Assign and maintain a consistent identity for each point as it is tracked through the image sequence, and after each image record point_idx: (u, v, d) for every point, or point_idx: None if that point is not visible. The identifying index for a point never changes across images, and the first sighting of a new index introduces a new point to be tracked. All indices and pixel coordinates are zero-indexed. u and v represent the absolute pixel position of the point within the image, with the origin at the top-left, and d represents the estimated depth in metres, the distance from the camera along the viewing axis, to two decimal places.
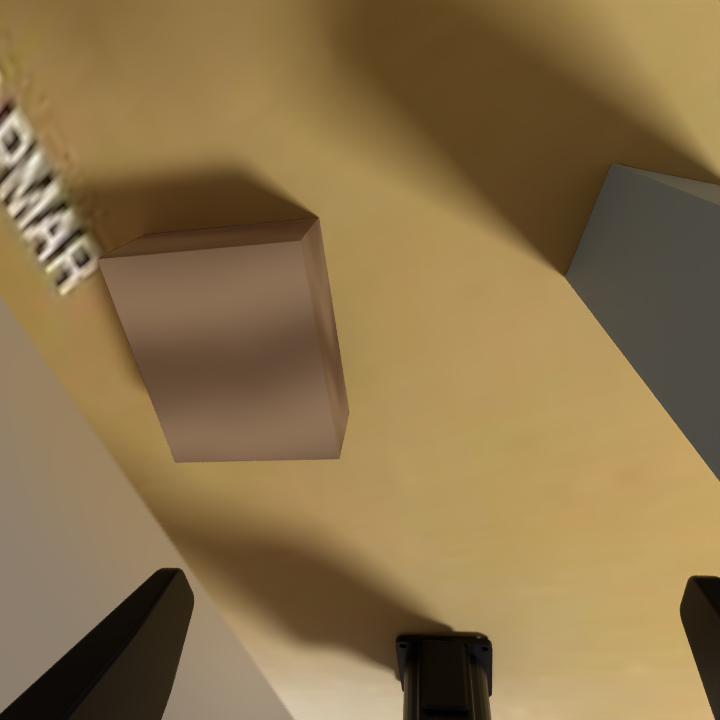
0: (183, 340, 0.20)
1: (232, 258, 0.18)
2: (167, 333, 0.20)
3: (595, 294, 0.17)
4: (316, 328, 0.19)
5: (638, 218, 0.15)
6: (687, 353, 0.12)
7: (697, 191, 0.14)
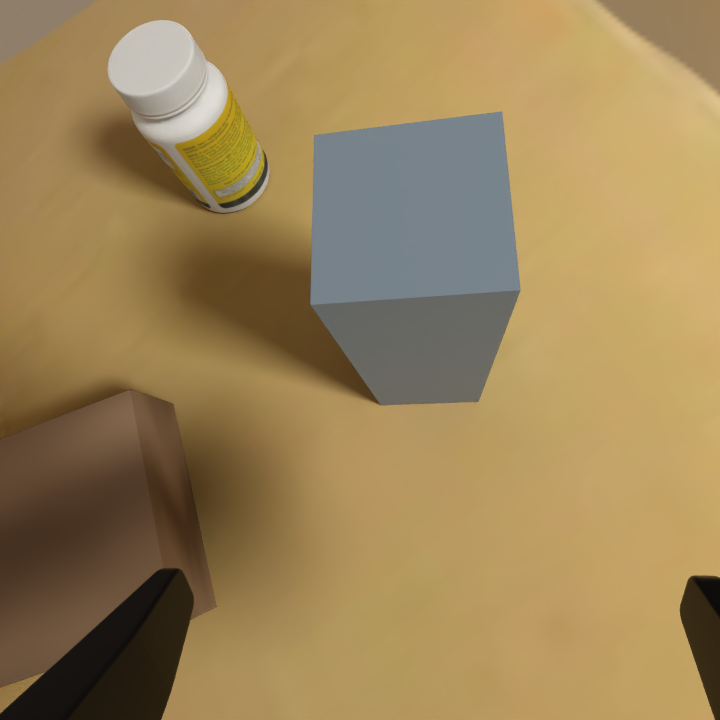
0: (27, 510, 0.21)
1: (77, 418, 0.22)
2: (14, 507, 0.21)
3: None
4: (145, 465, 0.21)
5: None
6: None
7: None
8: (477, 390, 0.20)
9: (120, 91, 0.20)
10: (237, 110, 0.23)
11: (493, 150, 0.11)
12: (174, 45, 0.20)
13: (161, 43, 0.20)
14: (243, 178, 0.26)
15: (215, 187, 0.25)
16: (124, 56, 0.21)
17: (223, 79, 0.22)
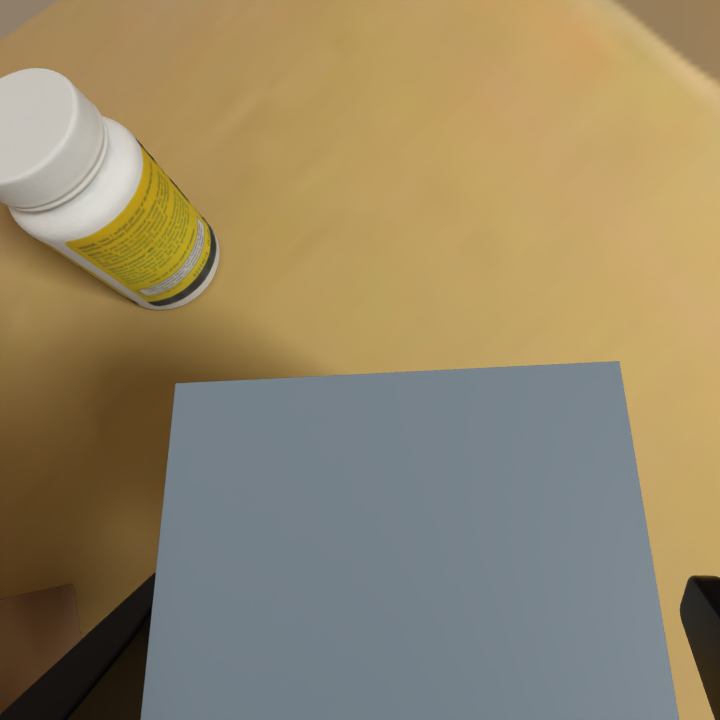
0: None
1: None
2: None
3: None
4: None
5: None
6: None
7: None
8: None
9: None
10: (161, 188, 0.17)
11: (604, 474, 0.04)
12: (50, 107, 0.14)
13: (33, 103, 0.14)
14: (177, 272, 0.19)
15: (138, 286, 0.18)
16: None
17: (136, 148, 0.16)
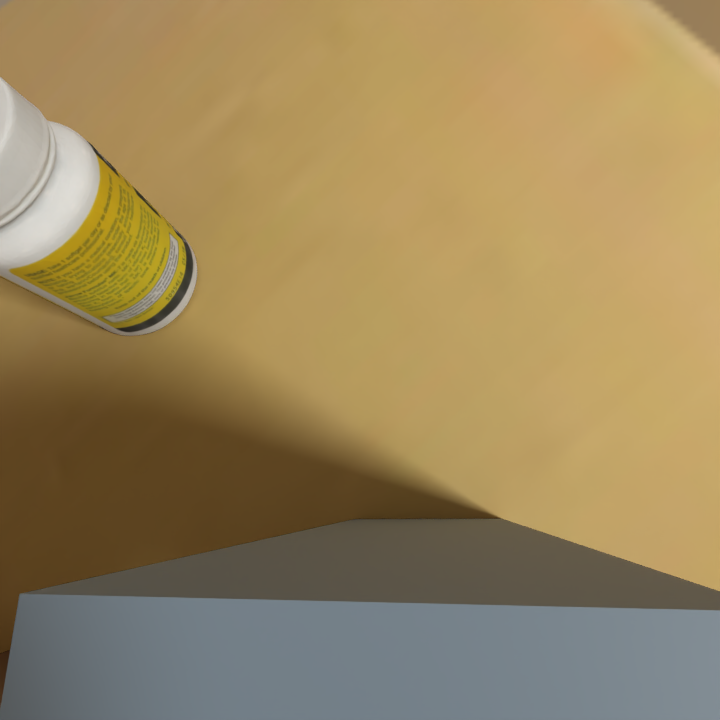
0: None
1: None
2: None
3: None
4: None
5: None
6: None
7: (349, 527, 0.11)
8: None
9: None
10: (124, 204, 0.15)
11: None
12: None
13: None
14: (147, 297, 0.17)
15: (102, 313, 0.16)
16: None
17: (91, 159, 0.13)
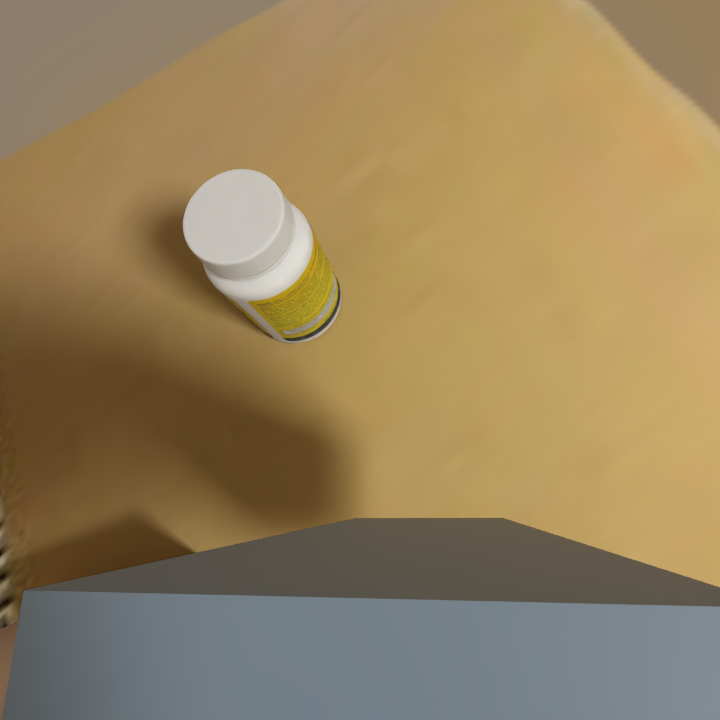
0: None
1: None
2: None
3: None
4: None
5: None
6: None
7: (351, 526, 0.11)
8: None
9: (196, 254, 0.18)
10: (319, 257, 0.21)
11: None
12: (262, 205, 0.18)
13: (247, 200, 0.18)
14: (315, 319, 0.23)
15: (284, 328, 0.23)
16: (203, 209, 0.18)
17: (309, 229, 0.20)
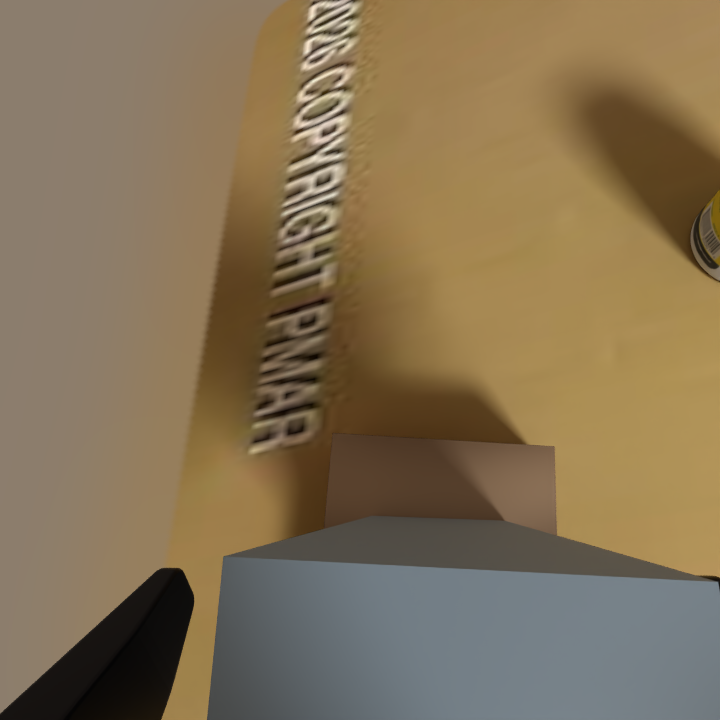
0: None
1: (476, 453, 0.17)
2: None
3: None
4: None
5: None
6: None
7: (379, 522, 0.12)
8: None
9: None
10: None
11: (703, 718, 0.04)
12: None
13: None
14: None
15: None
16: None
17: None
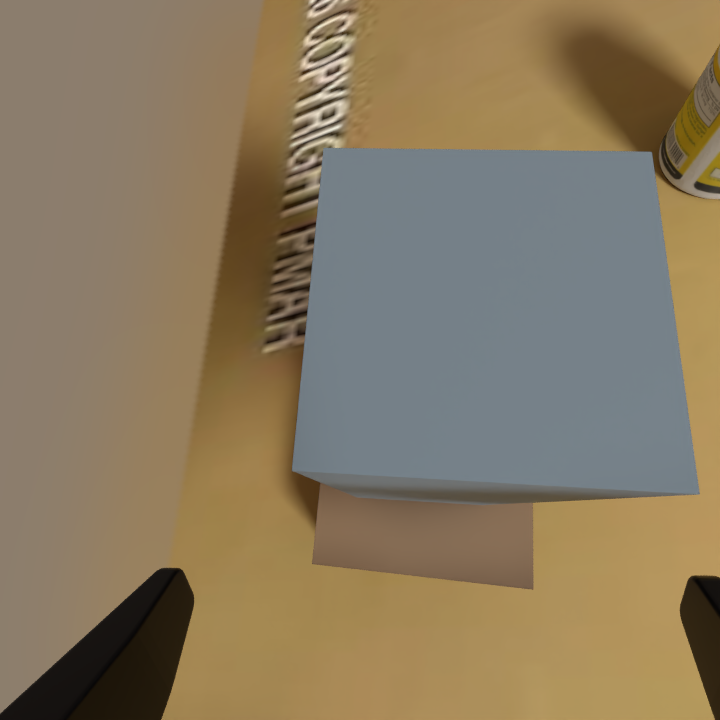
0: None
1: None
2: None
3: None
4: None
5: None
6: None
7: None
8: None
9: None
10: None
11: (639, 217, 0.06)
12: None
13: None
14: None
15: None
16: None
17: None
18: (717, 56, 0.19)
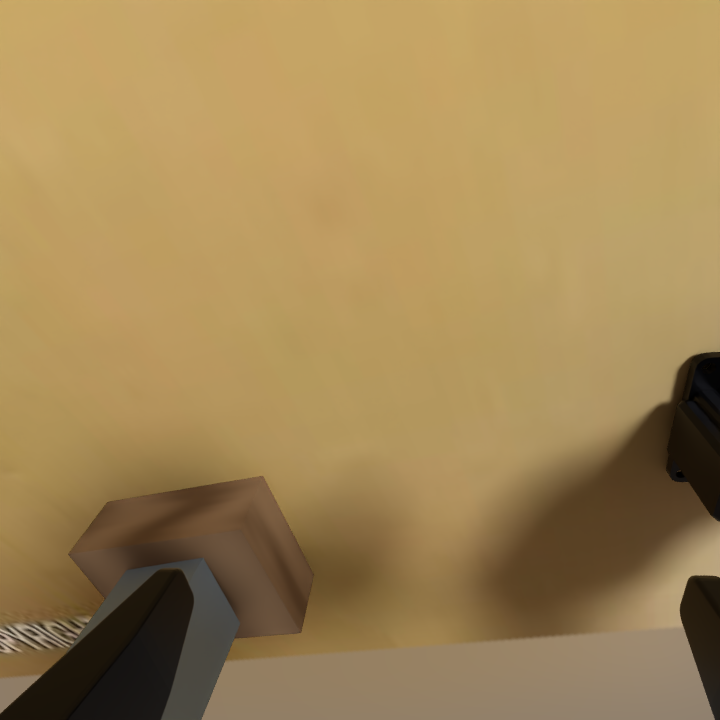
0: None
1: (102, 586, 0.26)
2: None
3: None
4: (125, 544, 0.24)
5: None
6: None
7: None
8: None
9: None
10: None
11: None
12: None
13: None
14: None
15: None
16: None
17: None
18: None
